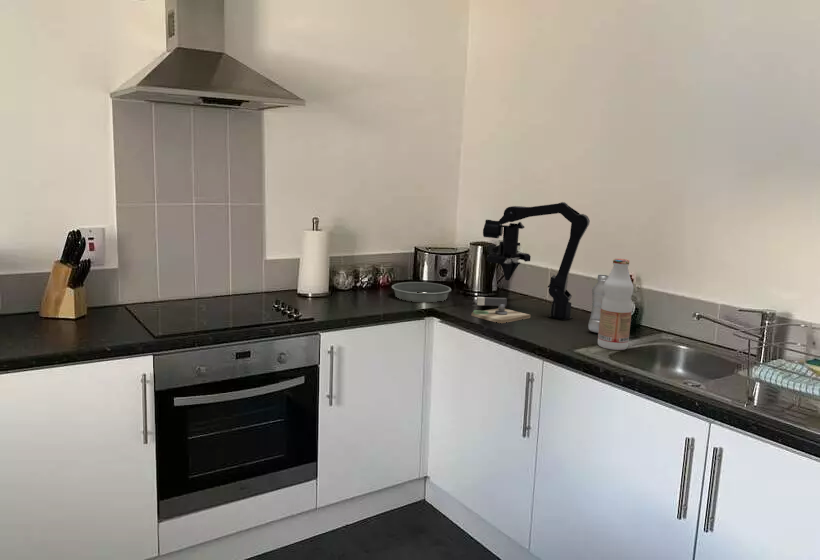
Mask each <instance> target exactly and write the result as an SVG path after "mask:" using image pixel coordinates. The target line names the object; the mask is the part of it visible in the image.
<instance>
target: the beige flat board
mask: <svg viewBox="0 0 820 560" xmlns="http://www.w3.org/2000/svg"><path fill="white" fill-rule="evenodd" d="M470 315H471V317H475V318H479V319H481V320H486V321H488V322H489V321H490V322H492V323H496V322H497V323H496V324H500V323H501V324H507V323H511V322H517V321H521V320H522V319H523V320H526V319H531V314H529V313H524V312H520V311H517V310H512V309H509V308H505V311H500V310H498V308H492V309H485V310H480V309H478V310H477V309H474V310H473V312H471V314H470ZM523 320H522V321H523ZM506 322H507V323H506Z"/></svg>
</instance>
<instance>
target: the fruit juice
mask: <svg viewBox="0 0 820 560" xmlns="http://www.w3.org/2000/svg"><path fill="white" fill-rule="evenodd" d="M612 264H613V266H612V269H611V271H610V272H609V275H608V276H609V277H608V278H607V280H606V281H605V283H604V287H603V289H604V297H603V299H602V303H601V312H600V322H599V332H598V333H597V345H598V346H599V347H601V348H603V349H607V350H615V351H622V350H626V349H628V347H629V346H628V345H629V341H630V340H629V339H630V332H631V331H630V330H631V322H632V311H633V301H632V297H633V296H632V295H633V293H634V290H635V289H634V288H635V287H634V284H633V281H632V279H631V275H630V271H629V266H630V260H629V259H625V258H613V260H612Z"/></svg>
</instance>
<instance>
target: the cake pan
mask: <svg viewBox="0 0 820 560" xmlns="http://www.w3.org/2000/svg"><path fill="white" fill-rule="evenodd" d="M391 289H393V291H394V296H395V298H396V297H397V299H398V298H399V299H398V300H401V299H402V300H401V301H405V300H406V301H405V302H411V301H412V302H414V303H422V302H433V303H438V302H437V301H442V302H445V301H447V300H448V296H449V293H450V292H452V288H451V287H450V286H448V285H444V284H441V283H435V282H434V283H433V282H428V281H427V282H426V281H424V282H423V281H407V282H405V281H404V282H397V283H394V284H392V285H391ZM417 292H427V293H417ZM446 299H447V300H446ZM444 300H445V301H444Z"/></svg>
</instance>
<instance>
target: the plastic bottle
mask: <svg viewBox="0 0 820 560" xmlns="http://www.w3.org/2000/svg"><path fill="white" fill-rule="evenodd" d="M608 277H609V275H607V274H598V275H597V278H596V281H597V282H596V283H595V285H594V286H593V288H592V290H591V293H592V294H591V296H592V300H591V301H592V302H591V304H592V307H591V313H590V318H589V319H588V330H589V331H590V332H591V333H595V334H598V332H599V322H600V312H601V303H602V299H603V297H604V289H603V287H604V283H605V281H606V280H607V278H608Z"/></svg>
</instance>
